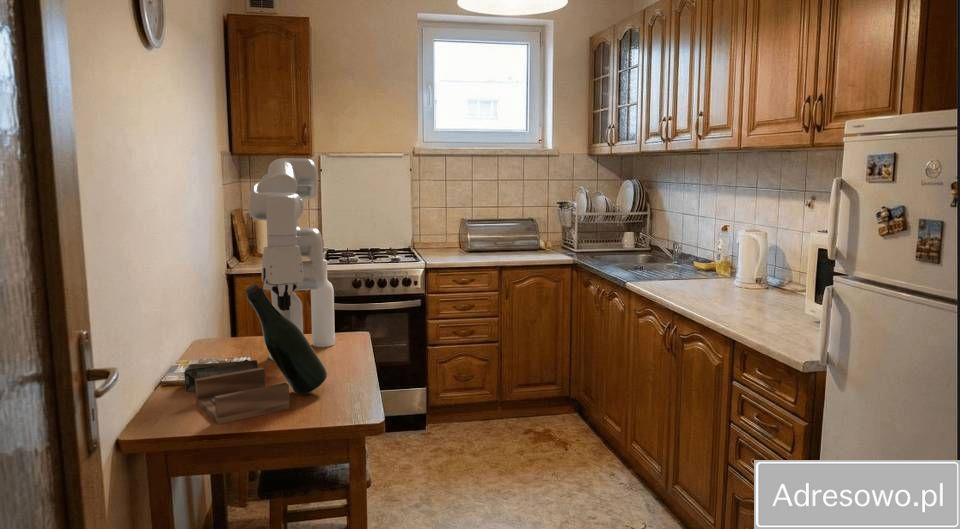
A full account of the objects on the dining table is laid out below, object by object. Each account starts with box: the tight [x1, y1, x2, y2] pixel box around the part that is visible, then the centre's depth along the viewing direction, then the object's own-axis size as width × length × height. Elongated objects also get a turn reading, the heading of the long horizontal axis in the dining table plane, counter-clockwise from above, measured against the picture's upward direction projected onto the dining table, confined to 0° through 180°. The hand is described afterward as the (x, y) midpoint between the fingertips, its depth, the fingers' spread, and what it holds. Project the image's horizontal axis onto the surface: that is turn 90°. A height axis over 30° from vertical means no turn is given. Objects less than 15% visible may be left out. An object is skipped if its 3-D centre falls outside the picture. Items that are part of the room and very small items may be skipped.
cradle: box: [194, 367, 290, 425], centre depth 179 cm, size 19×18×6 cm
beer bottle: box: [244, 283, 328, 395], centre depth 184 cm, size 10×10×33 cm
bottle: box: [310, 258, 336, 348], centre depth 239 cm, size 8×8×30 cm
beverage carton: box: [183, 359, 259, 392], centre depth 196 cm, size 8×19×7 cm, turn 103°
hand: (284, 309), depth 183 cm, fingers closed
